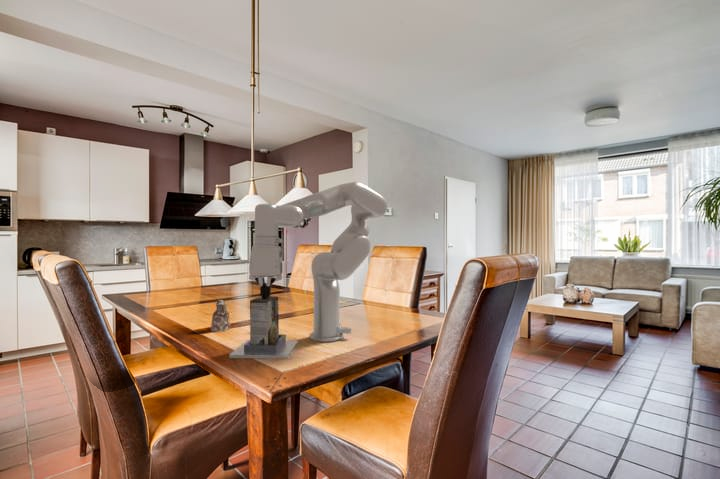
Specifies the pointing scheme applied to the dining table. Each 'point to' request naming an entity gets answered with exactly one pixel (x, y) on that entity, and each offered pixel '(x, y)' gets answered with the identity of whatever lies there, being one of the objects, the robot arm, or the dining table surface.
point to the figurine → (220, 318)
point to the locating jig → (266, 349)
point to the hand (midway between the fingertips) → (265, 297)
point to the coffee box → (264, 321)
